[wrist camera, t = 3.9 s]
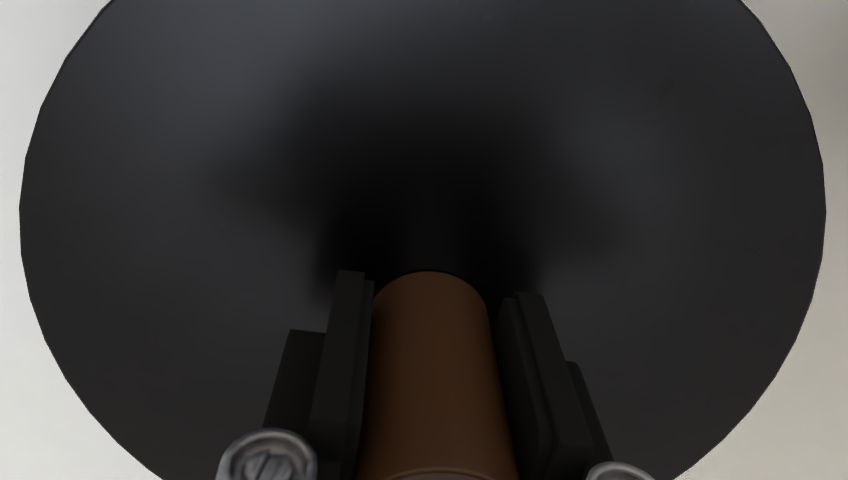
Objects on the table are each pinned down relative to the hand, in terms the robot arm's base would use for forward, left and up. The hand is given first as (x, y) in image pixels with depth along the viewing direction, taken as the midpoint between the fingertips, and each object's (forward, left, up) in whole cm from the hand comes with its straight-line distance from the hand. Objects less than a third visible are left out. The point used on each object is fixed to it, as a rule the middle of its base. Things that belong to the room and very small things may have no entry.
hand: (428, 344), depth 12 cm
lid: (0, 0, -1) cm, 1 cm away
